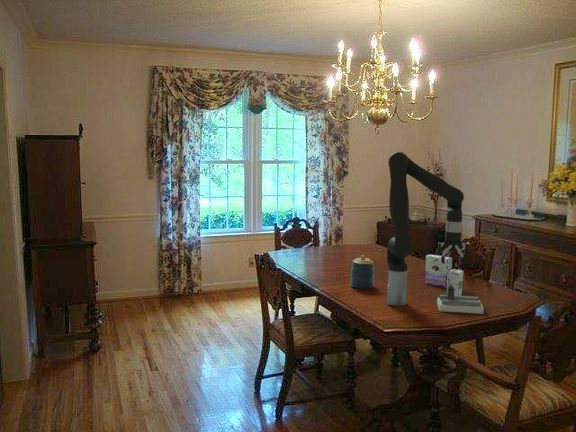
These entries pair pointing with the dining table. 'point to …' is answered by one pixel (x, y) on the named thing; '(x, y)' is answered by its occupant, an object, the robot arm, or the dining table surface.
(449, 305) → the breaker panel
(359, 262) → the canister
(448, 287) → the breaker lever
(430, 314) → the dining table surface
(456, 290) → the syrup box
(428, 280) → the candy box
